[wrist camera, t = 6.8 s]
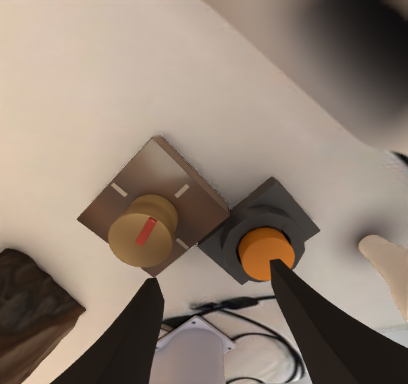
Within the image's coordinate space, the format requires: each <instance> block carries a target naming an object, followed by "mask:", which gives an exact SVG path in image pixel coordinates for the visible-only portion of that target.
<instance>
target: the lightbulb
mask: <svg viewBox="0 0 408 384" xmlns="http://www.w3.org/2000/svg"><path fill="white" fill-rule="evenodd" d="M359 251H360V252H361V253H362V254H363V255H364V256H365V257H366V258H367V259H368V260H369V261H370V262H371V263H372V265H373V267H374V268H375V269H376V270H377V271H378V272H379V273H380V274H381V275H382V277H383V278H384V279H385V280H386V282H387V283H388V285H389V287H390V290H391V293H392V295H393V298H394V300H395V303H396V305H397V307H398V309H399V311H400V313H401V314H402V316H403V317H404V318H405V320H406V321H407V322H408V249H406V248H404V247H402V246H400V245H397V244H392V243H391V242H389V241H387V240H386V239H384V238H382V237H380V236H378V235H369V236H366V237H365V238H363V239H362V240H361V241H360V243H359Z"/></svg>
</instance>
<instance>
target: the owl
mask: <svg viewBox="0 0 408 384" xmlns="http://www.w3.org/2000/svg"><path fill="white" fill-rule="evenodd" d="M85 311H86V309H85V308H83V307H82V306H81V305H80V304H79V303H78V302H77V301H75V300H74V299H73V298H72V297H71V296H70V295H69V294H68V293H67V292H66V291H65V290H64V289H63V288H61V287H60V286H58V285H57V284H56V283H55V282H54V280H53V279H52V277H51V276H50V275H48V274H47V273H45V272H43V271H41V270H40V269H39V268H38V267H37V265H36V263H35V262H34V261H33V260H32V259H31V258H30V257H29V256H27V255H25V254H23V253H21V252H19V251H17V250H14V249H5V250H3V251H2V252H1V253H0V384H21V383H22V382H24V381H25V380H26V379H27V378H28V377H29V376H30V375H31V373H32V372H33V371H34V370H35V369H36V368H37V367H38V366H39V364H40V363H41V362H42V361H43V360H44V359H45V358H46V357H47V356H48V355H49V354H50V353H51V352H52V351H53V350H54V349H55V347H56V346H57V345H58V344H59V342H60V341H61V340H62V339H63V338H64V337H65V336H66V335H67V334H68V333H69V332H70V331H71V330H72V329H73V328H74V326H75V324H76V322H77V320H78V318H79V316H80V315H81V314H82V313H84V312H85Z"/></svg>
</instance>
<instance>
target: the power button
mask: <svg viewBox="0 0 408 384" xmlns="http://www.w3.org/2000/svg"><path fill="white" fill-rule="evenodd" d="M239 255H240V258H241V262H242V266H243V268H244V270H245V272H246V273H247V274H248V275H249V276H251V277H252V278H254V279H257V280H263V281H268V280H271V273H270V262H269V260H273V259H281V260H282V261H283V262H284V263H285V264H286V265H287V266H288V267H289V268H290V269H291V267H292V265H293V263H294V259H295V254H294V250H293V248H292V247H291V245H290V244H289V242H288V241H287V240H286V238H285V237H284V235H283V234H282V233H281V232H280V231H278V230H276V229H274V228H270V227H260V228H256V229H253V230H251V231H250V232H248V233H247V234H246V235H245V236H244V237H243V238H242V240H241V242H240V244H239Z"/></svg>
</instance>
